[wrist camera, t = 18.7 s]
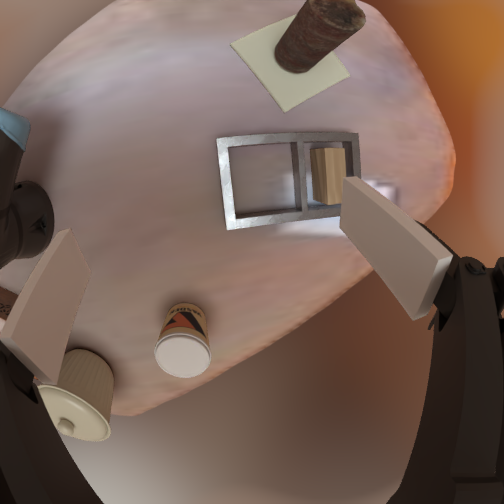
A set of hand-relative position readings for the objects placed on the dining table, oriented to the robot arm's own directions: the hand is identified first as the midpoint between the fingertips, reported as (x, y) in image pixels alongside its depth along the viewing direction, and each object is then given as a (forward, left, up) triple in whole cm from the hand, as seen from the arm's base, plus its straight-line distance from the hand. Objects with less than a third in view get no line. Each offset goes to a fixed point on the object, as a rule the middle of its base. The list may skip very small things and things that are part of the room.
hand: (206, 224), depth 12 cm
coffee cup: (+18, -20, -34) cm, 43 cm away
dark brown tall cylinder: (-10, +25, -33) cm, 43 cm away
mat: (-10, +25, -34) cm, 43 cm away
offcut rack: (+8, +12, -34) cm, 37 cm away
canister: (+14, -49, -34) cm, 61 cm away
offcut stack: (+11, +17, -34) cm, 39 cm away
